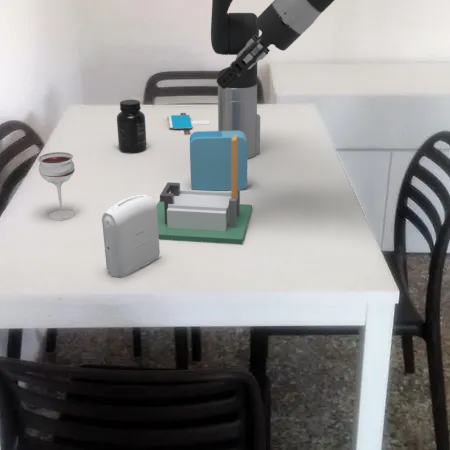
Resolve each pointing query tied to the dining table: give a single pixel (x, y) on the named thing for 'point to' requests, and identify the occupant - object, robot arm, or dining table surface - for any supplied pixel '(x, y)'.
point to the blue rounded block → (216, 160)
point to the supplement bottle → (131, 127)
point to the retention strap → (234, 167)
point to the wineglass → (57, 176)
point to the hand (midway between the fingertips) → (220, 84)
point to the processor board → (204, 234)
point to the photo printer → (130, 234)
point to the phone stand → (184, 122)
